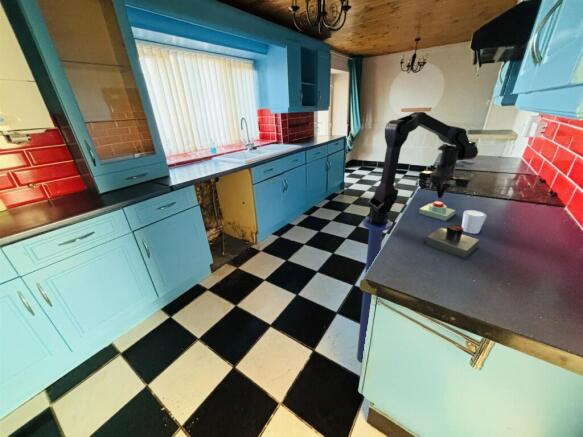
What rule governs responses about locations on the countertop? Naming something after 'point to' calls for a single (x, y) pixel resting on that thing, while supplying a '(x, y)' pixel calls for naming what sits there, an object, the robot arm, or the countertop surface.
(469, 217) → the white tapered cup
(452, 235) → the knob
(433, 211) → the pale green button base
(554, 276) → the countertop surface
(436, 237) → the panel
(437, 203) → the lock button
